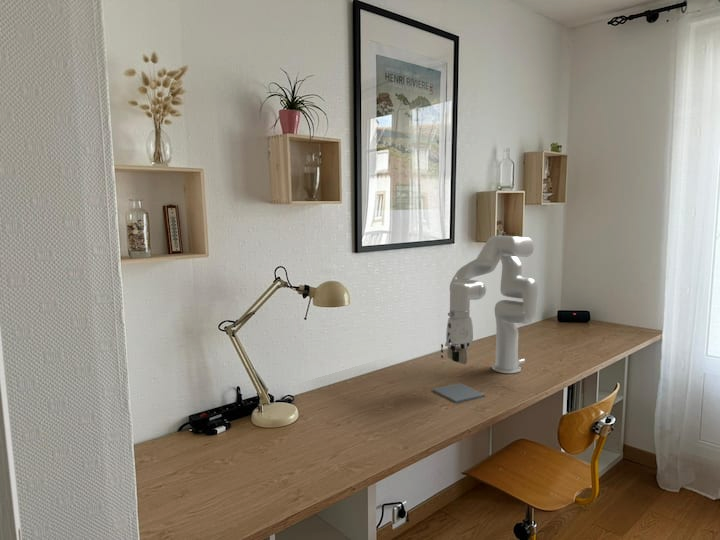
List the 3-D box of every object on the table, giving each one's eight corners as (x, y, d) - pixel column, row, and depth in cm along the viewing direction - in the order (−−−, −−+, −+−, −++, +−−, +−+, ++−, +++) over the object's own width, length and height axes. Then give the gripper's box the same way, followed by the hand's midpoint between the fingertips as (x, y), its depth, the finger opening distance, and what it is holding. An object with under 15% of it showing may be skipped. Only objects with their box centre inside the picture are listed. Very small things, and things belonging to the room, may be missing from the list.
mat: (460, 384, 209) (460, 382, 209) (484, 396, 196) (485, 394, 196) (432, 390, 202) (432, 388, 202) (456, 403, 189) (456, 401, 189)
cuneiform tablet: (441, 343, 203) (460, 350, 192) (448, 342, 204) (468, 349, 194) (440, 357, 203) (460, 365, 193) (448, 356, 205) (468, 364, 195)
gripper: (448, 318, 188) (448, 366, 190) (482, 313, 196) (481, 360, 198) (436, 314, 195) (436, 361, 197) (469, 310, 202) (468, 355, 205)
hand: (458, 360), depth 197 cm, fingers closed on cuneiform tablet, 2 cm apart
